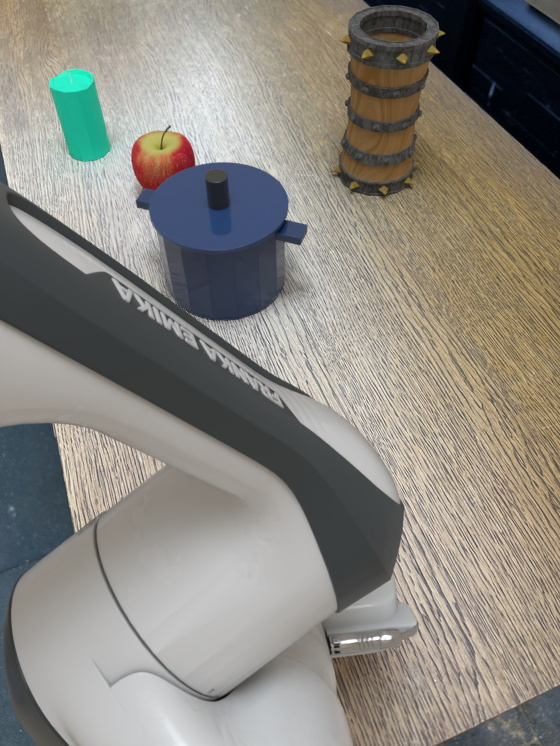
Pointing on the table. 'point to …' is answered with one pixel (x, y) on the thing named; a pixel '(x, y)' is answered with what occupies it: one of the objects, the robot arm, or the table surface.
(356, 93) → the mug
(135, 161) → the apple
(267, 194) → the pot lid
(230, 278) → the pot
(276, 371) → the table surface
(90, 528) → the robot arm
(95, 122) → the candle
